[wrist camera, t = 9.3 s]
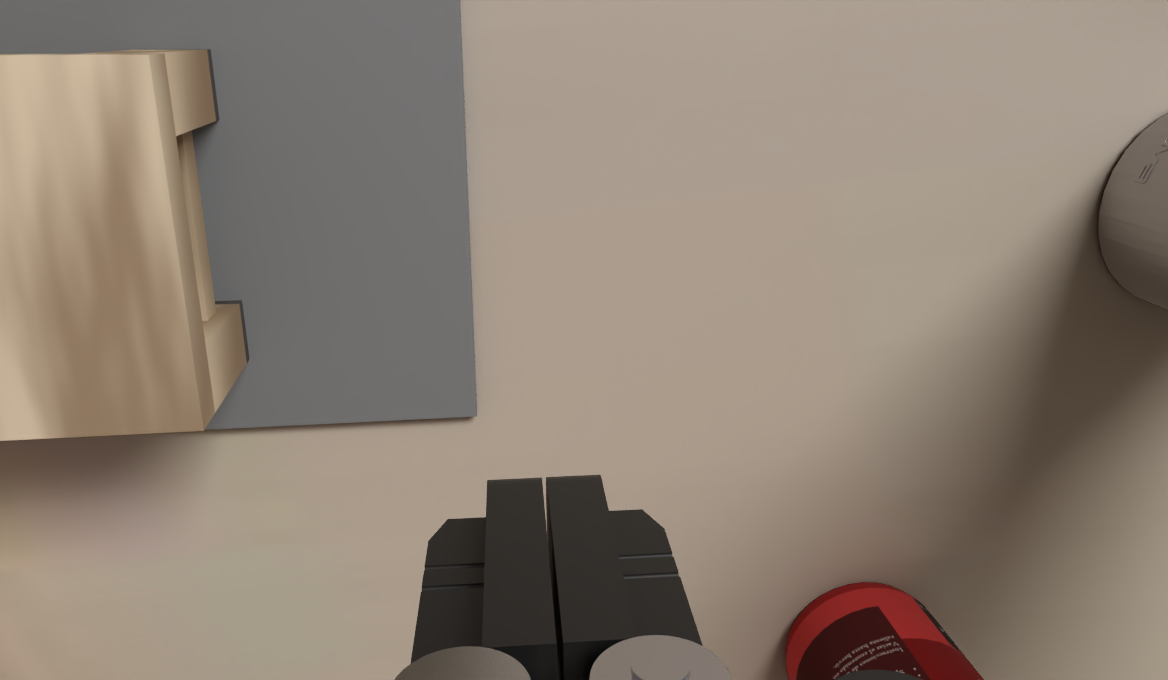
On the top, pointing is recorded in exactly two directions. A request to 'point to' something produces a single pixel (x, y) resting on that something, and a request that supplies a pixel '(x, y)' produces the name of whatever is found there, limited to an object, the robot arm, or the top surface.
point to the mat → (319, 192)
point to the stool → (108, 248)
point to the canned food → (871, 637)
